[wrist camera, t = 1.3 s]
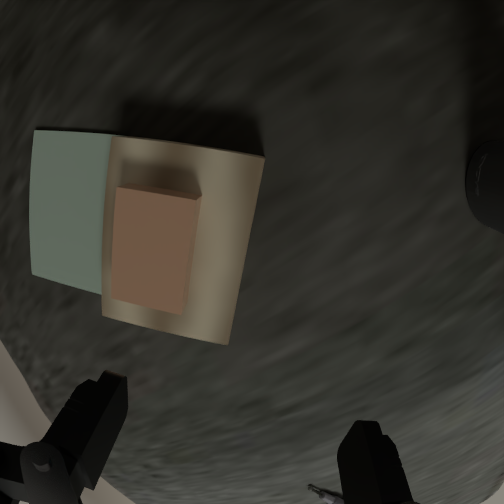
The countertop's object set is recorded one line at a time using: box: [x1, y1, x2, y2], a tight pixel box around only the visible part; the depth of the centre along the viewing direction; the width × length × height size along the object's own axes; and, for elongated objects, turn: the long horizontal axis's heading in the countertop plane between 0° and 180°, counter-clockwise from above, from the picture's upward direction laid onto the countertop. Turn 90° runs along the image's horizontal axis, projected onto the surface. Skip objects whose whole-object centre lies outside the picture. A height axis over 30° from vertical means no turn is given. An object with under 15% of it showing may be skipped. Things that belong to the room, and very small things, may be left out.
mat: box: [29, 130, 122, 294], centre depth 28 cm, size 11×16×1 cm
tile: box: [111, 183, 202, 315], centre depth 24 cm, size 6×9×2 cm, turn 169°
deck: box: [101, 136, 265, 345], centre depth 27 cm, size 12×16×4 cm
